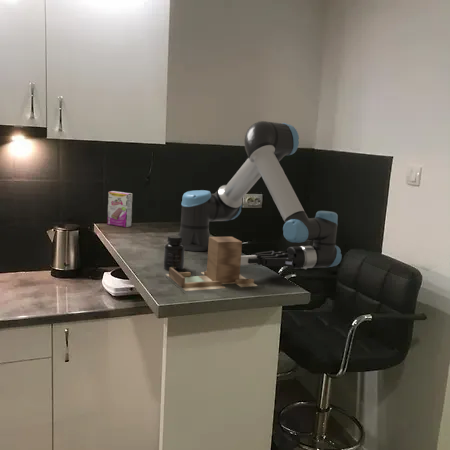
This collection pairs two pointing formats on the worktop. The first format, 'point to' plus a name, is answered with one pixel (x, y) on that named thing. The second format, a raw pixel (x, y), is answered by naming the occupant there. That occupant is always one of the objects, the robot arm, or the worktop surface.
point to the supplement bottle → (174, 253)
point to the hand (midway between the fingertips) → (237, 260)
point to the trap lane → (203, 281)
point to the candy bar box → (119, 209)
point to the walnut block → (224, 259)
